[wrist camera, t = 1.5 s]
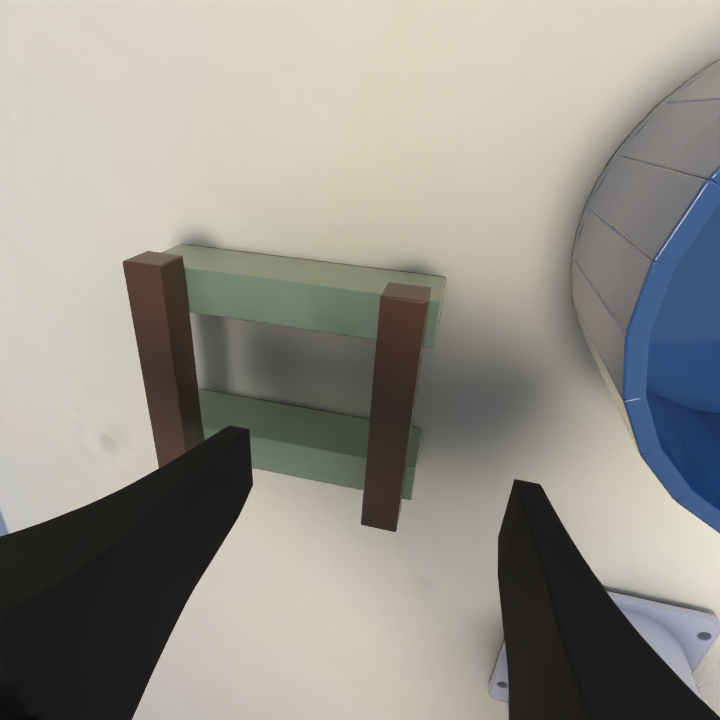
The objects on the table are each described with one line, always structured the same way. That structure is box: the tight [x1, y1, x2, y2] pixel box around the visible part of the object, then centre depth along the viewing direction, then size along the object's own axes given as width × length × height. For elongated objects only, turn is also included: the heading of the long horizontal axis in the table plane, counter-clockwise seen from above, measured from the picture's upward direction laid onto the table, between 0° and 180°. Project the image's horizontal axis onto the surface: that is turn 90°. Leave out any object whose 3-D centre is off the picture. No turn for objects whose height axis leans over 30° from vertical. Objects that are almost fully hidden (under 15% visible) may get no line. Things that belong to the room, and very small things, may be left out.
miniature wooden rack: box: [162, 244, 446, 500], centre depth 18 cm, size 8×10×2 cm
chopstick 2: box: [361, 282, 431, 532], centre depth 16 cm, size 9×1×1 cm, turn 176°
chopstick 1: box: [123, 251, 204, 468], centre depth 17 cm, size 9×1×1 cm, turn 176°
